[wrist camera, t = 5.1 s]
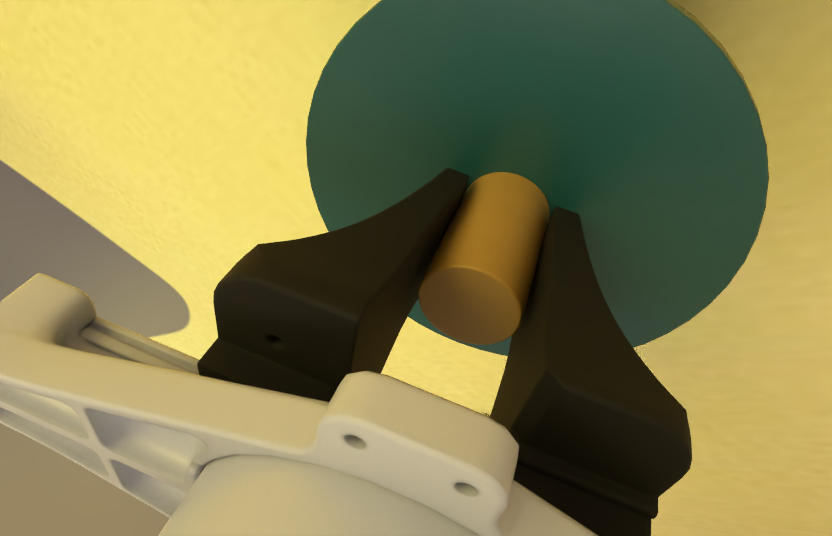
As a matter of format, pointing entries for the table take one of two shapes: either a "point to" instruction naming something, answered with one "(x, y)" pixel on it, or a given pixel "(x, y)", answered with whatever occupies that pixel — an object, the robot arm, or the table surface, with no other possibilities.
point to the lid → (547, 151)
